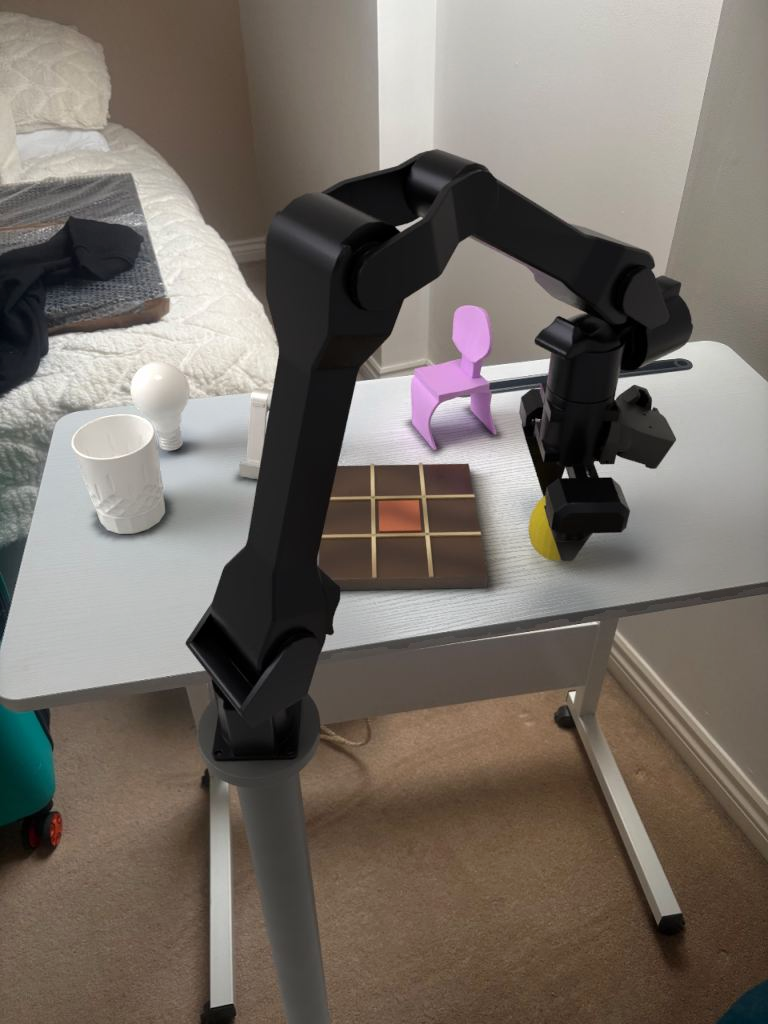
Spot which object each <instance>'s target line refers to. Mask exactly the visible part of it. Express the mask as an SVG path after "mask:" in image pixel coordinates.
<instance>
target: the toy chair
mask: <svg viewBox="0 0 768 1024" xmlns="http://www.w3.org/2000/svg"><path fill="white" fill-rule="evenodd" d="M451 339H452V341H453V343H454V345H455V346H456V348H457V350H458V351H459V352H460V354H461V358H458V359H453V360H450V361H446V362H442V363H438V364H433V365H427V366H420V367H416V368H414V376H413V377H412V378H411V382H410V401H411V403H410V404H411V405H410V406H411V424H412V425H413V427H414V428H415V429H416V430H417V431H418V433H419V434H420V435H421V436H422V438H423V439H424V440H425V441H426V442H427V443H428V445H429V446H430V447H431V449H433V451H437V450H438V448H437V446H436V443H435V440H434V437H433V433H432V427H431V421H432V418H433V415H434V413H435V412H436V410H437V408H438V407H439V406H440V405H441V404H442V403H444V402H447V401H450V400H454V399H456V398H460V397H463V396H467V395H470V404H469V410H470V411H471V412H472V413H473V414H474V415H475V416H476V417H477V418H478V420H479V421H480V422H481V423H482V424H483V425H484V426H485V427H486V428H487V429H488V430H489V431H490V432H491V434H493V435H497V434H498V433H497V430H496V426H495V422H494V419H493V416H492V411H491V403H492V397H493V393H492V391H491V390H490V387H491V386H490V382H489V381H488V380H487V379H486V378H485V377H483V376H482V375H481V373H482V372H481V370H482V367H483V362H484V360H485V359H487V358H489V356H490V355H491V353H492V351H493V344H494V341H493V330H492V325H491V319H490V315H489V314H488V312H487V311H486V309H484V308H483V307H481V306H477V305H470V304H469V305H461V306H460V307H457V309H456V310H455V311H454V314H453V321H452V338H451Z"/></svg>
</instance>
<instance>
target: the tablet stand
mask: <svg viewBox="0 0 768 1024" xmlns="http://www.w3.org/2000/svg"><path fill="white" fill-rule="evenodd" d="M272 391H273V390H270V389H264V388H258V387H255V388H254V389H252V392H251V394H250V402H249V403H250V405H249V419H248V431H247V445H246V447H247V448H246V459H245V462H243V461H240V462H239V463H238V473H239V476H240V477H244V478H249V479H251V480H258V474H259V469H260V463H261V457H262V451H263V445H264V439H265V433H266V427H267V418H268V417H267V416H268V413H269V409H270V403H271V397H272Z"/></svg>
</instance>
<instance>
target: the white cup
mask: <svg viewBox="0 0 768 1024" xmlns="http://www.w3.org/2000/svg"><path fill="white" fill-rule="evenodd" d="M70 444H71V447H72V451H73V454H74V455H75V458H76V461H77V465H78V467H79V470H80V473H81V476H82V478H83V482H84V484H85V487H86V489H87V491H88V493H89V498H90V499H91V502H92V503H93V506H94V508H95V511H96V513H97V516H98V519H99V523H101V525H102V526H103V527H104V528H105V529H106V531H109V532H112V533H115V534H118V535H134V534H138V533H141V532H143V531H147V530H150V529H151V528H153V527H154V526H156V525H157V524H159V523H160V522H161V520H162V519H163V517H164V515H165V513H166V505H165V497H164V491H163V490H164V483H163V476H162V470H161V461H160V457H159V456H160V455H159V451H158V443H157V438H156V430H155V428H154V427H153V425H152V423H151V421H150V420H149V419H148V418H145V417H143V416H139V415H136V414H131V413H130V414H129V413H128V414H127V413H117V414H110V415H104V416H101V417H98V418H95V419H92V420H90V421H89V422H86V423H85V424H83V425H82V426H80V428H78V429H77V430H76V431H75V433H74V434H73V435H72V438H71V443H70Z"/></svg>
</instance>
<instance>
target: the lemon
mask: <svg viewBox="0 0 768 1024" xmlns="http://www.w3.org/2000/svg"><path fill="white" fill-rule="evenodd" d="M545 505H546V502H545V496H544V497H541V498H540V499H539V500H538V501H537V502H536V504H535V506H534V508H533V510H532V512H531V514H530V517H529V523H528V537H529V541H530V544H531V546H532V548H533V549H534V551H535V552H536V553H537V554H539V556H541V557H543V558H544V559H547V560H550V561H557V562H558V561H559V562H560V561H561V559H560V556H559V553H558V550H557V547H556V544H555V541H554V538H553V535H552V532H551V529H550V527H549V524H548V520H547V517H546V513H545V509H544V506H545Z"/></svg>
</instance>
